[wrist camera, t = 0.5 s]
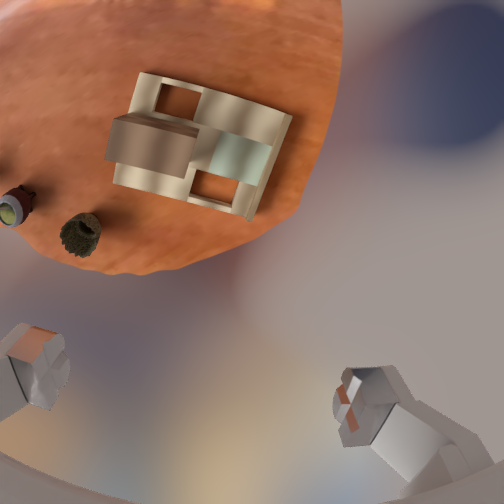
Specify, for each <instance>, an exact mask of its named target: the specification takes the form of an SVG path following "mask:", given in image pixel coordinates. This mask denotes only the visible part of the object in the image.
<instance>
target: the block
mask: <svg viewBox="0 0 504 504" xmlns="http://www.w3.org/2000/svg"><path fill="white" fill-rule="evenodd" d="M199 130H200V129H198V128H194V127H190V126H187V125H183V124H179V123H175V122H171V121H167V120H163V119H159V118H154V117H150V116H146V115H141V114H137V113H132V112H131V113H128V114H125V115H122V116H120V117H117V118H114V119H113V122H112V126H111V131H110V135H109V140H108V144H107V149H106V154H105V159H104V160H108V161H112V162H116V163H121V164H125V165H129V166H134V167H138V168H142V169H146V170H150V171H154V172H158V173H162V174H166V175H170V176H174V177H178V178H181V179H184V178H185V175H186V172H187V169H188V165H189V162H190V159H191V155H192V152H193V149H194V146H195V142H196V139H197V136H198V133H199Z"/></svg>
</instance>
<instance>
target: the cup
mask: <svg viewBox="0 0 504 504" xmlns="http://www.w3.org/2000/svg"><path fill="white" fill-rule="evenodd" d="M61 230H62V231H61V233H60V238H61V239H62V240H63V241H62V245H64V244H65V250H67V251H69V253H75V254H74V255H75V257H76V256H78V255H79V256H80V257H82V258H84V257H86V256H90V255H91V253H92V251H94V249H96V246H97V243H98V241H99V238H100V234H101V225H100V222H99V220H98V218H97V217H96V216H95V215H94V214H90V213H80V214H78V215H76V216H74V217H73V218H72V219H70V220H69V221H68V222H67V223H65V225H64V226H63V227H62V228H61Z"/></svg>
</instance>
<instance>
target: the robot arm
mask: <svg viewBox="0 0 504 504" xmlns="http://www.w3.org/2000/svg"><path fill="white" fill-rule="evenodd" d="M64 347H65V342H64V339H63V336H62V335H60V334H59V333H56V332H52V331H49V330H45V329H42V328H39V327H36V326H31V325H28V324H25V323H19V324H18V325H17V326H16V327H15V328H14V329H13V330H12V331H11V332H10V333H9V334H8V335H7V336H6V337H5V338H4V339H3V340H2V341H1V342H0V422H1V421H3V420H4V419H6V418H7V417H9V416H11V415H12V414H14V413H15V412H17V411H18V410H20V409H21V408H23V407H24V406H26V405H27V403H29V404H32V405H34V406H37V407H40V408H44V409H46V410H49V411H50V410H51V408H52V406H53V405H54V403H55V401H56V400H57V398H58V396H59V395H58V391H57V390H58V389H60V388H62V387H64V386H65V384H66V383H67V381H68V378H69V374H70V362H69V358H68V356H67V355H66V354H65V353H64V352H63V349H64ZM341 380H342V383H343V384H342V385H341V386H340V387H339V388H337V389H336V392H335V395H334V397H333V413H334V417H335V419H336V420H337V421H338V422H340V423H341V426H340V428H339V430H338V431H339V434H340V437H341V440H342V444H343V447H353V446H354V447H355V446H366V445H371V446H370V447H371V448H372V449H373V450H374V451H375V452H377V453H378V454H379V455H380V456H381V457H382V458H383V459H384V460H385V461H386V462H387V463H388V464H389V465H390V466H391V467H392V468H394V469H395V470H396V471H397V472H398V473H399V474H400V475H401V476H402V477H403V478H404V479H406V480H407V481H408V482H409V484H408V485H407V486H406V487H405V488H404V489H403V490H402V491H401V492H400V493H399V494H398V496H397V498H398V499H397V500H393V501H389V502H385V503H380V504H504V460H502V461H500V462H498V463H496V464H495V463H494V462H493V460H492V458H491V457H490V455H489V453H488V452H487V450H486V448H485V447H484V445H483V444H482V442H481V440H480V439H479V437H478V435H477V434H475V433H473V432H471V431H470V430H468V429H466V428H465V427H463V426H461V425H460V424H458V423H456V422H455V421H453V420H451V419H450V418H448V417H446V416H445V415H443V414H441V413H439V412H438V411H436V410H435V409H433V408H431V407H430V406H428V405H427V404H425V403H423V402H422V401H420V400H419V401H415V399H414V397H413V396H412V394H411V392H410V390H409V389H408V387H407V385H406V384H405V382H404V381H403V379H402V377H401V375H400V374H399V372H398V370H397V369H396V367H394V366H392V365H390V366H378V367H354V368H353V367H351V368H350V367H348V368H346V369H345V370H344V371H343V373H342V376H341ZM0 504H141V503H136V502H132V501H128V500H124V499H120V498H116V497H112V496H109V495H105V494H101V493H98V492H95V491H92V490H89V489H86V488H83V487H80V486H77V485H74V484H71V483H68V482H66V481H63V480H60V479H58V478H56V477H53V476H51V475H48V474H46V473H43V472H41V471H39V470H36V469H34V468H32V467H30V466H28V465H25V464H24V463H22V462H19V461H17V460H15V459H14V458H11V457H9V456H8V455H6V454H4V453H2V452H0Z"/></svg>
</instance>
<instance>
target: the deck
mask: <svg viewBox="0 0 504 504" xmlns="http://www.w3.org/2000/svg"><path fill="white" fill-rule="evenodd" d="M163 83H165V84H169V85H174V86H178V87H182V88H186V89H190V90H194V91H197V92H201V93H202V95H201V98H200V101H199V104H198V107H197V110H196V113H195V116H194V119H193V121H191V120H188V119H184V118H180V117H176V116H172V115H168V114H164V113H159V112H155V107H156V104H157V101H158V97H159V94H160V91H161V88H162V85H163ZM131 112H132V113H137V114H141V115H146V116H150V117H154V118H159V119H163V120H167V121H171V122H175V123H179V124H183V125H187V126H190V127H194V128H198V129H200V130H199V133H198V136H197V139H196V142H195V146H194V149H193V152H192V155H191V159H190V162H189V165H188V169H187V172H186V175H185V178H184V179H181V178H178V177H174V176H170V175H166V174H162V173H158V172H154V171H150V170H146V169H142V168H138V167H134V166H129V165H125V164H121V163H116V168H115V173H114V178H113V183H114V184H118V185H123V186H127V187H131V188H135V189H139V190H143V191H147V192H151V193H155V194H159V195H163V196H167V197H171V198H175V199H179V200H182V201H186V202H190V203H194V204H198V205H202V206H205V207H209V208H213V209H217V210H220V211H224V212H228V213H231V214H235V215H239V216H242V217H246V221H249V222H252V220H253V218H254V215H255V212H256V210H257V207H258V205H259V202H260V199H261V197H262V194H263V192H264V189H265V186H266V184H267V181H268V179H269V176H270V173H271V171H272V168H273V166H274V163H275V160H276V158H277V155H278V153H279V150H280V148H281V145H282V142H283V140H284V137H285V135H286V132H287V130H288V127H289V125H290V122H291V119H292V117H293V116H291V115H288V114H286V113H283V112H280V111H278V110H275V109H272V108H269V107H266V106H264V105H261V104H258V103H255V102H252V101H249V100H246V99H243V98H239V97H236V96H233V95H230V94H226V93H223V92H220V91H216V90H213V89H209V88H206V87H202V86H198V85H194V84H190V83H187V82H183V81H178V80H174V79H170V78H166V77H161V76H157V75H152V74H147V73H142V72H140V74H139V78H138V81H137V84H136V87H135V91H134V94H133V98H132V101H131V105H130V108H129V112H128V113H131ZM196 169H198V170H202V171H205V172H209V173H213V174H216V175H220V176H223V177H227V178H230V179H234V180H237V181H239V183H238V186H237V188H236V191H235V194H234V197H233V200H232V203H231V204H229V203H225V202H222V201H218V200H214V199H211V198H207V197H203V196H199V195H196V194H192V193H189V192H190V189H191V186H192V182H193V179H194V175H195V172H196Z"/></svg>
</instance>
